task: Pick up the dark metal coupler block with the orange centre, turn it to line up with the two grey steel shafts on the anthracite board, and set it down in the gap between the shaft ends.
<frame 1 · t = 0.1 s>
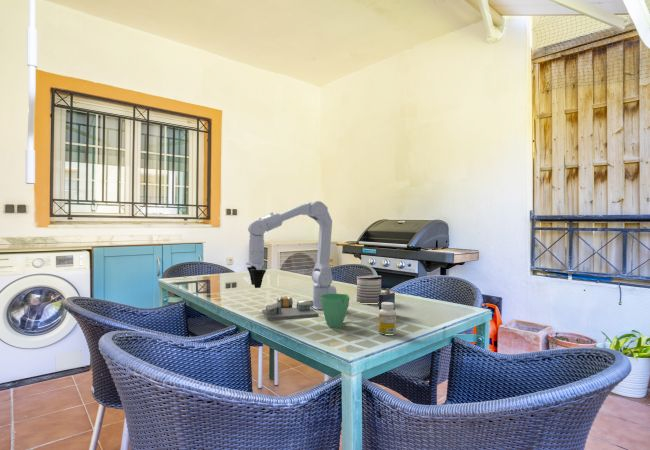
hand: (255, 286, 140), 10 cm above the table, tool pointing down, fingers open, 7 cm apart
shaft b: (273, 315, 134), resting on base board
supplement bottle: (387, 334, 115), on the table
green cup: (337, 324, 125), on the table
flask: (387, 317, 136), on the table
coupler: (284, 308, 147), on the table
shaft a: (305, 312, 141), resting on base board
base board: (289, 314, 137), on the table
can: (368, 302, 161), on the table
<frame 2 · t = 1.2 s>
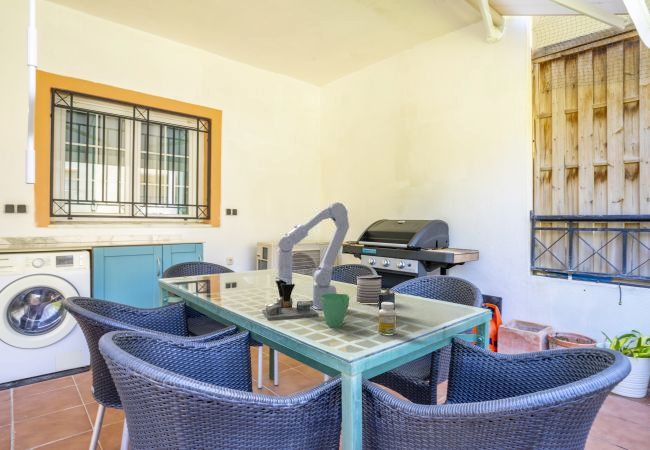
hand: (284, 299, 147), 4 cm above the table, tool pointing down, fingers open, 7 cm apart
nothing on the table moved.
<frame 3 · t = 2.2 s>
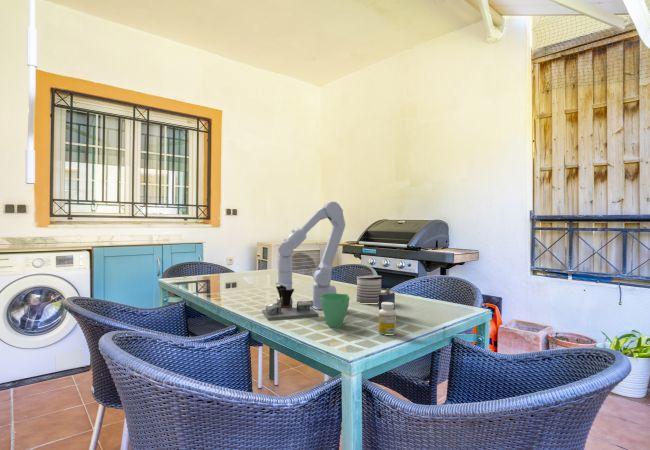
hand: (284, 304, 147), 1 cm above the table, tool pointing down, fingers closed on coupler, 4 cm apart
coupler: (284, 308, 147), on the table, touching gripper
everything else where it was.
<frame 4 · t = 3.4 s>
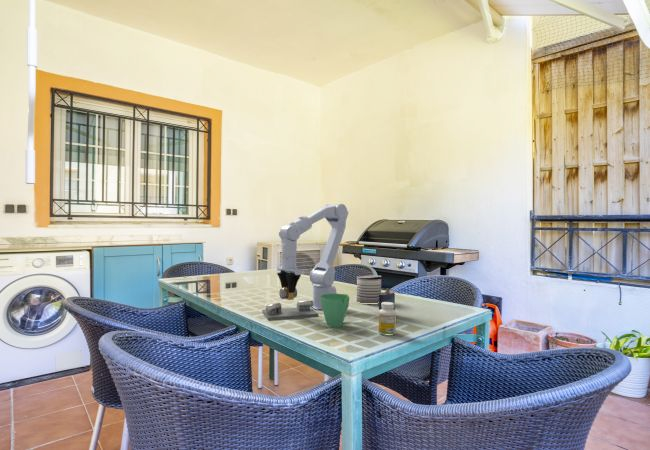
hand: (288, 291, 138), 8 cm above the table, tool pointing down, fingers closed on coupler, 4 cm apart
coupler: (288, 298, 138), point 6 cm above the table, touching gripper
everything else where it was.
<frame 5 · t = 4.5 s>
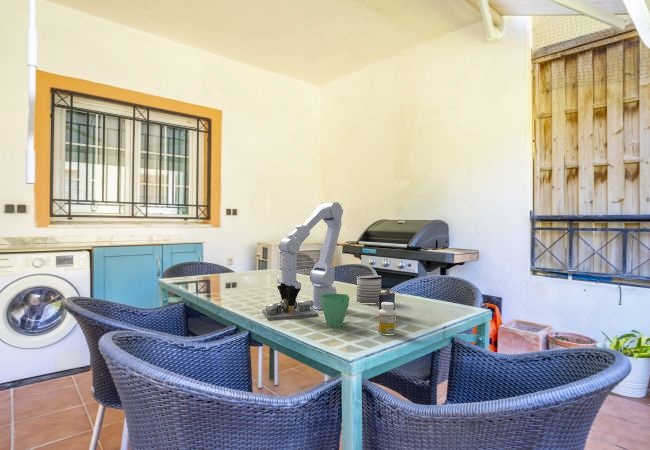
hand: (288, 304, 138), 3 cm above the table, tool pointing down, fingers closed on coupler, 4 cm apart
coupler: (288, 310, 138), point 1 cm above the table, touching base board, gripper
everything else where it was.
when the fingers open (3 cm above the table, at t = 4.8 s): coupler stays where it is, resting on base board.
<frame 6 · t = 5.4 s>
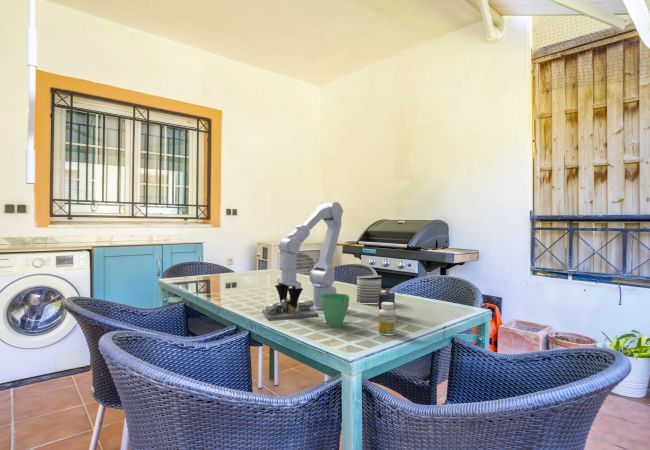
hand: (288, 304, 138), 3 cm above the table, tool pointing down, fingers open, 7 cm apart
coupler: (288, 310, 138), point 1 cm above the table, touching base board
everything else where it was.
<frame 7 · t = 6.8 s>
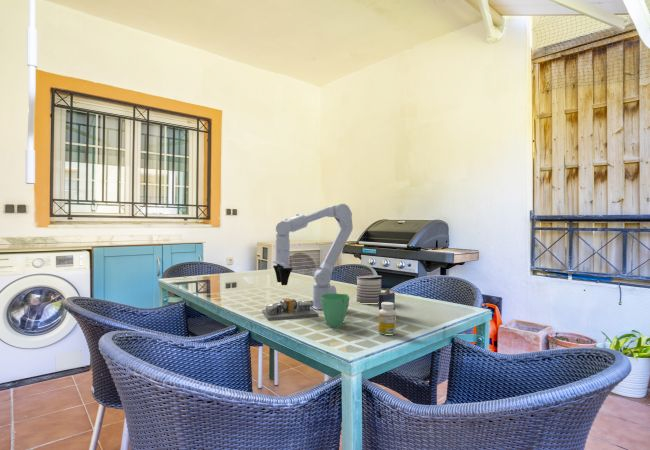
hand: (282, 283, 148), 10 cm above the table, tool pointing down, fingers open, 7 cm apart
nothing on the table moved.
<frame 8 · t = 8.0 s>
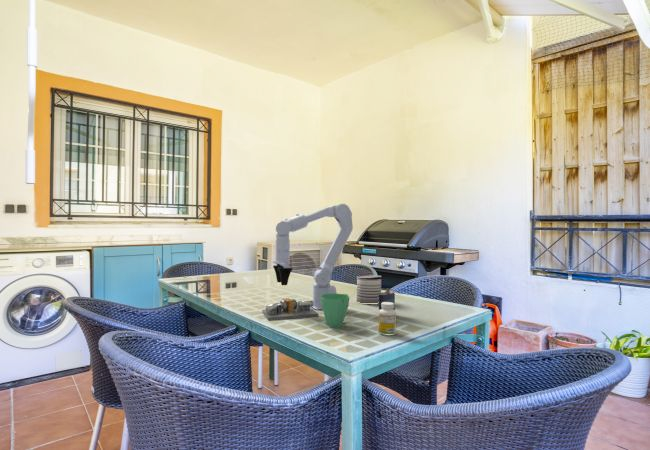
hand: (282, 283, 148), 10 cm above the table, tool pointing down, fingers open, 7 cm apart
nothing on the table moved.
at the end: coupler 0.1 cm from the target spot, point 1.0 cm above the table; coupler tilted 0°; the gripper is holding nothing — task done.
